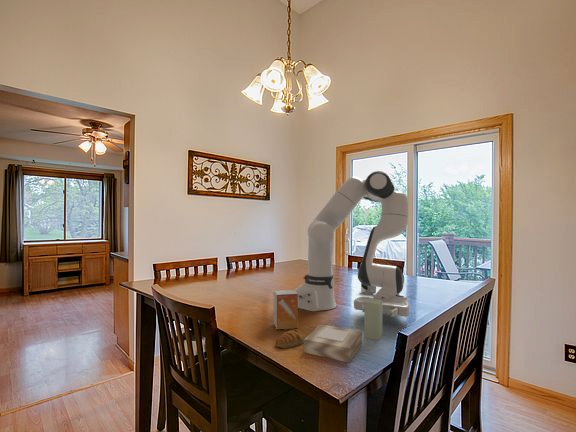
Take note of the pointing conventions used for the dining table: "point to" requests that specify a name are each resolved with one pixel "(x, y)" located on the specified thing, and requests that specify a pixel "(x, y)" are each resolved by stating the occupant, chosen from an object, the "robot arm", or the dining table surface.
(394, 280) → the robot arm
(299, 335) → the pastry
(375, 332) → the sage block
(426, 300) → the dining table surface
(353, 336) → the base plinth
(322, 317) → the dining table surface
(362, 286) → the mug
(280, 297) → the small box
